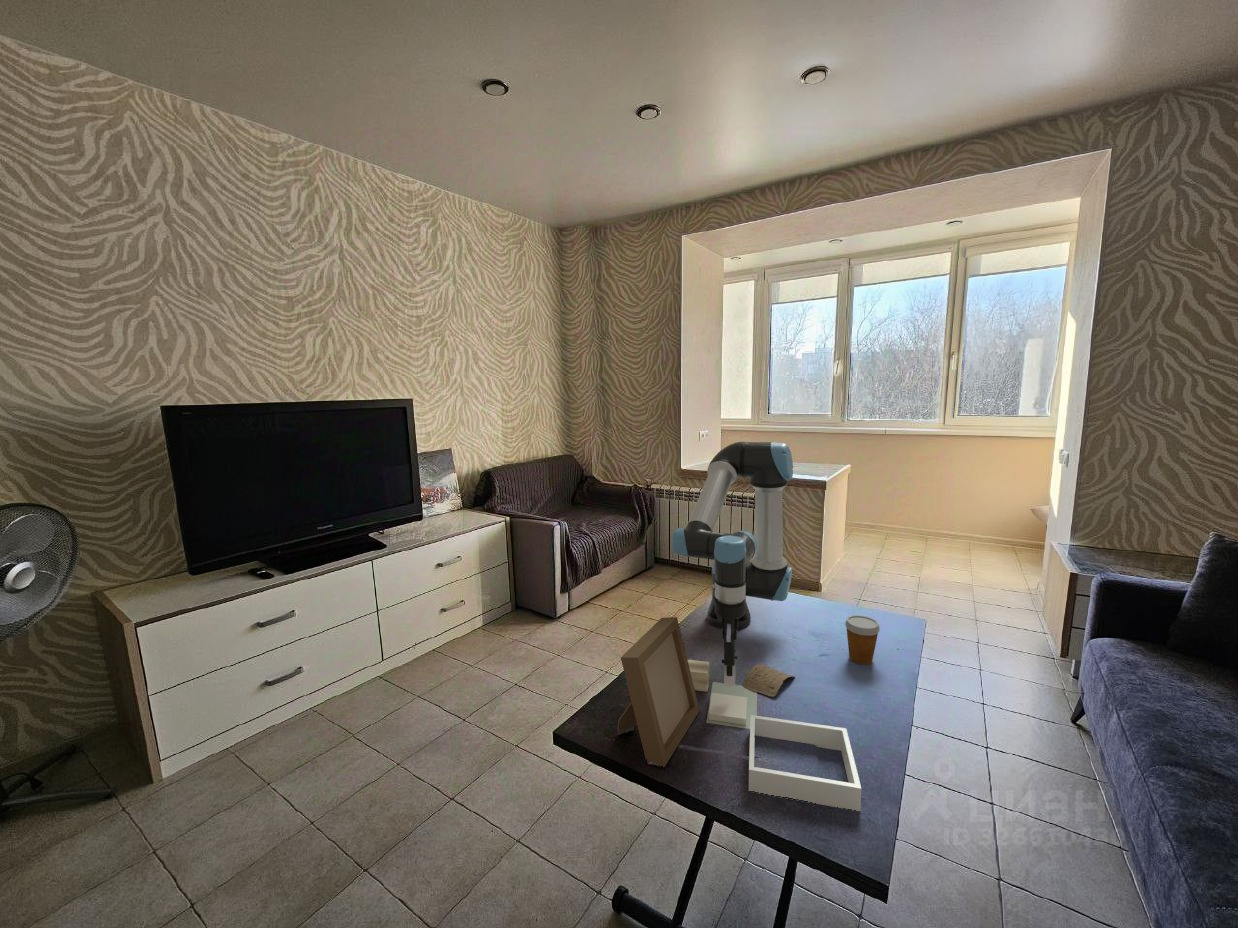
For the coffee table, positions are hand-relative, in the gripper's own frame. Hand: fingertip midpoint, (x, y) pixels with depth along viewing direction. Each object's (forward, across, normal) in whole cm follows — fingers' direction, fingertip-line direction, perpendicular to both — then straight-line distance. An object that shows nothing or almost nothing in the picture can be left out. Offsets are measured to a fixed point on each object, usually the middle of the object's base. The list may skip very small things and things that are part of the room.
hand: (729, 684), depth 131 cm
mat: (+6, 0, +1) cm, 6 cm away
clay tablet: (+6, -13, +10) cm, 18 cm away
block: (+6, -7, -9) cm, 13 cm away
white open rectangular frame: (+6, +19, +16) cm, 25 cm away
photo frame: (+6, +14, -17) cm, 23 cm away
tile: (+5, -1, 0) cm, 5 cm away
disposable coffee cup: (+7, -32, +37) cm, 50 cm away
